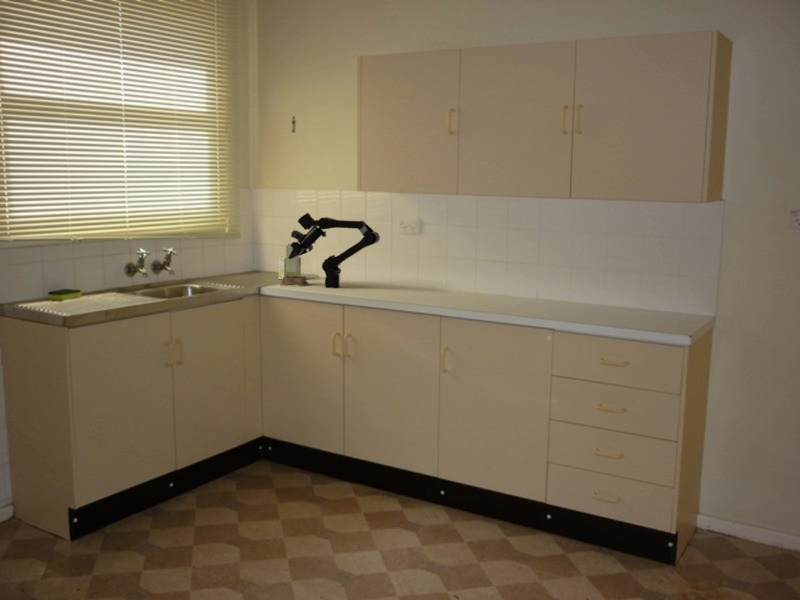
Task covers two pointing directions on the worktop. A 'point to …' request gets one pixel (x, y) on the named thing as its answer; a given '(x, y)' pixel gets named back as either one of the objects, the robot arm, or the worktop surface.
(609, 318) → the worktop surface
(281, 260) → the box
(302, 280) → the brown wooden frame
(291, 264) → the tin
